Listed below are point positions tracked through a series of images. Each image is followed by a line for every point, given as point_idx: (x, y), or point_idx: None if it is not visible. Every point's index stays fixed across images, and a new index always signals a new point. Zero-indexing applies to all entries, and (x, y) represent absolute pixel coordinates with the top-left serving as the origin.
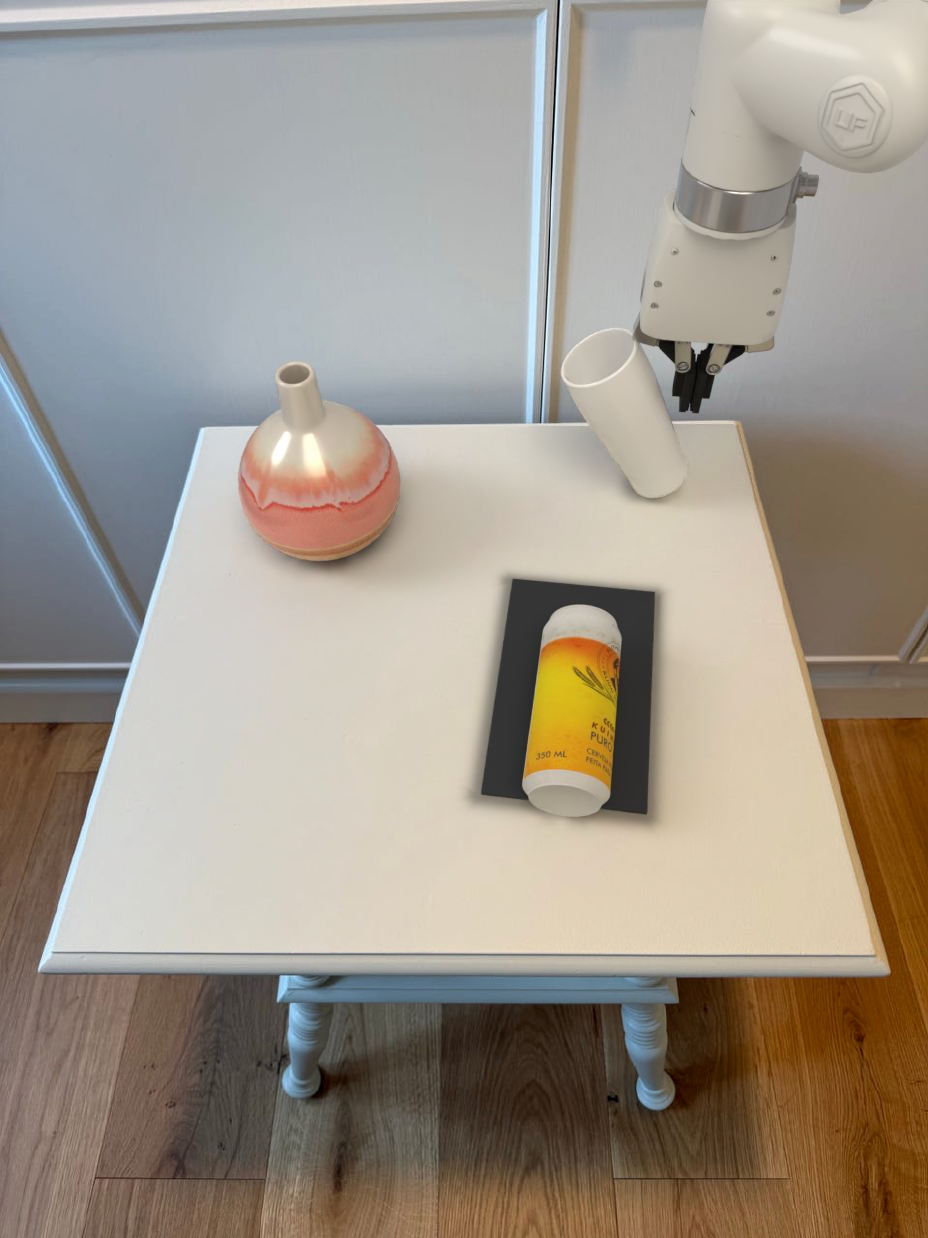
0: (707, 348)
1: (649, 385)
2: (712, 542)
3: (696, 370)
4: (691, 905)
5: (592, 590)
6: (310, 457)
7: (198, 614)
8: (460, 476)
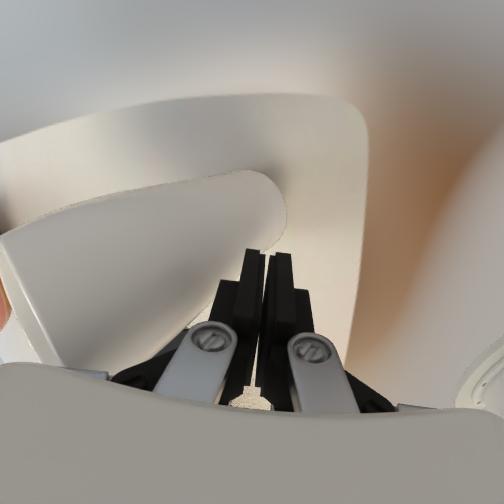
0: (285, 374)
1: (153, 353)
2: (306, 284)
3: (261, 345)
4: None
5: (180, 335)
6: None
7: None
8: (43, 192)
